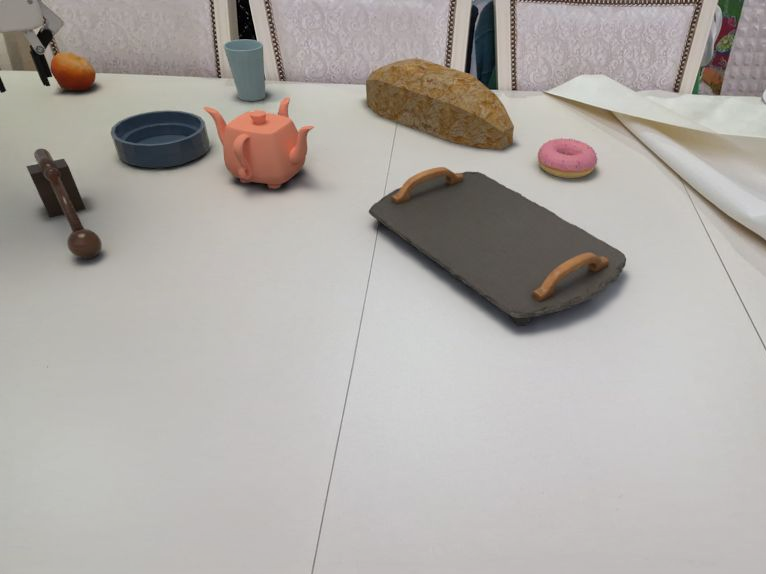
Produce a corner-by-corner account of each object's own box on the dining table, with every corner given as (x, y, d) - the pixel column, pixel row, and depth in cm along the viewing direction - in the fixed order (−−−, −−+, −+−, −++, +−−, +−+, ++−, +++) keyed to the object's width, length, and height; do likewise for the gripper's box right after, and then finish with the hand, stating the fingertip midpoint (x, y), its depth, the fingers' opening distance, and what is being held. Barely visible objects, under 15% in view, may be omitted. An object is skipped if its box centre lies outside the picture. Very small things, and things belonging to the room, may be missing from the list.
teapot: (216, 166, 108) (201, 102, 100) (296, 153, 113) (288, 92, 106) (235, 203, 98) (221, 136, 91) (322, 187, 104) (314, 122, 96)
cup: (278, 95, 133) (270, 44, 126) (251, 106, 128) (241, 53, 121) (254, 87, 136) (244, 37, 129) (226, 97, 131) (215, 45, 124)
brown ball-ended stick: (109, 258, 85) (85, 200, 79) (77, 267, 84) (50, 208, 78) (76, 198, 97) (53, 143, 91) (48, 205, 95) (22, 149, 89)
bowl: (114, 174, 104) (105, 148, 101) (124, 137, 114) (116, 113, 111) (209, 166, 107) (203, 141, 104) (210, 131, 118) (205, 108, 115)
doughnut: (605, 167, 115) (610, 145, 112) (576, 187, 108) (580, 165, 105) (555, 150, 119) (558, 129, 117) (524, 168, 113) (527, 147, 110)
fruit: (47, 77, 131) (56, 41, 127) (90, 94, 136) (100, 60, 132) (43, 90, 125) (52, 53, 122) (87, 107, 130) (97, 72, 127)
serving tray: (355, 217, 97) (352, 181, 93) (466, 178, 109) (468, 144, 104) (529, 347, 76) (535, 307, 72) (642, 281, 88) (653, 244, 84)
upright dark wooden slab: (85, 208, 95) (68, 166, 90) (49, 217, 93) (29, 174, 88) (81, 200, 97) (64, 158, 92) (45, 208, 94) (26, 165, 90)
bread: (352, 106, 131) (349, 56, 124) (387, 93, 138) (385, 45, 131) (490, 156, 116) (494, 102, 109) (521, 138, 123) (527, 87, 116)
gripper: (34, -84, 77) (86, 68, 89) (-136, -80, 69) (-54, 87, 81) (46, -74, 73) (98, 85, 85) (-135, -68, 65) (-48, 106, 77)
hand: (23, 84), depth 83 cm, fingers open, 4 cm apart
